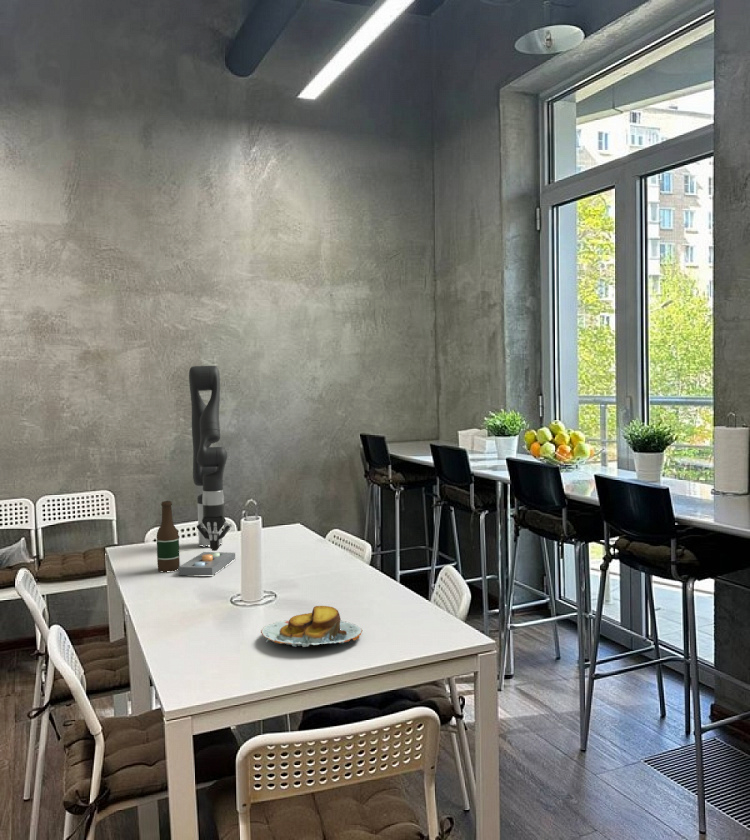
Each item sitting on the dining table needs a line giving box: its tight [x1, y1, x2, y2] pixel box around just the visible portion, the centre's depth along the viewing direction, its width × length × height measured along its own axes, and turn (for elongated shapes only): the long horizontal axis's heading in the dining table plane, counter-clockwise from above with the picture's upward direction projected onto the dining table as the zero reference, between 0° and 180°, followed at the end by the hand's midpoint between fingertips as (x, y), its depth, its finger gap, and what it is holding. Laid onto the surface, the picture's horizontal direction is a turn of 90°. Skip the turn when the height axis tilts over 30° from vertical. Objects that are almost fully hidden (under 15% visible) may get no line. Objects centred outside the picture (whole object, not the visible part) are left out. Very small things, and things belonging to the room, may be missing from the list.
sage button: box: [210, 551, 220, 557], centre depth 275 cm, size 4×4×3 cm
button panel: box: [177, 551, 236, 576], centre depth 269 cm, size 22×12×3 cm, turn 171°
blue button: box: [194, 562, 205, 566], centre depth 262 cm, size 4×4×3 cm
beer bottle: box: [156, 500, 181, 573], centre depth 267 cm, size 8×8×24 cm
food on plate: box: [260, 605, 363, 648], centre depth 194 cm, size 25×25×7 cm
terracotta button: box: [202, 554, 213, 561], centre depth 269 cm, size 4×4×3 cm
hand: (214, 550), depth 276 cm, fingers closed
